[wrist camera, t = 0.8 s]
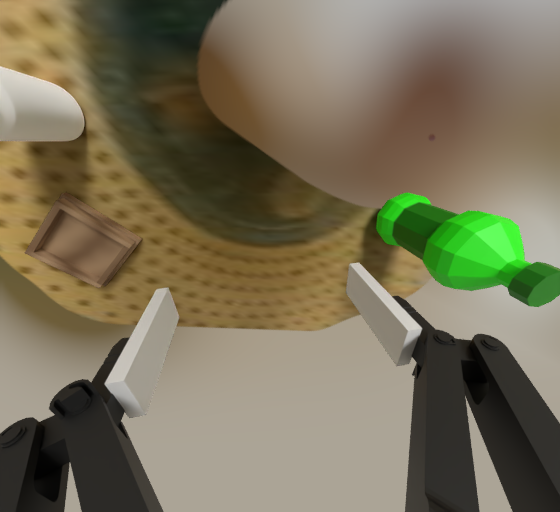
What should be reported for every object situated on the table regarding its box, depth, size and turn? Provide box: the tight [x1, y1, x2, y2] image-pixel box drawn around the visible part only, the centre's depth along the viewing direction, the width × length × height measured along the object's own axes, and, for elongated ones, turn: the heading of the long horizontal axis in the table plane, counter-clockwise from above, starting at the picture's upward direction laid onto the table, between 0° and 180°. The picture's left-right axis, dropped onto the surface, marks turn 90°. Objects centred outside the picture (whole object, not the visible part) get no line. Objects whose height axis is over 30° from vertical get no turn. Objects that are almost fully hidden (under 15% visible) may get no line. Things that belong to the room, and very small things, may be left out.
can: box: [0, 66, 84, 141], centre depth 23 cm, size 6×6×12 cm
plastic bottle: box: [376, 193, 560, 307], centre depth 32 cm, size 10×10×25 cm
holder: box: [25, 192, 142, 288], centre depth 35 cm, size 12×12×2 cm
